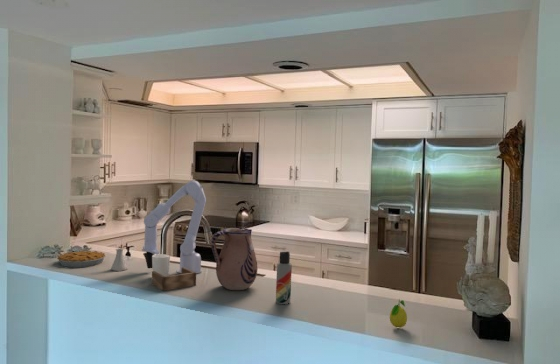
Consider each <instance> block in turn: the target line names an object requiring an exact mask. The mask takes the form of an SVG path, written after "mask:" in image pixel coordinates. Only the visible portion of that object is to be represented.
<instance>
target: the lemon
mask: <svg viewBox="0 0 560 364" xmlns="http://www.w3.org/2000/svg"><path fill="white" fill-rule="evenodd" d="M398 303H399V304H401V305H402V306H403V307H406V305H405V304H406V303H405V301H404V300H401V301H400V298H399V299H398ZM399 304H395V305H394V306H393V307H392V308H391V310H390V313H389V321H390V323H391V325H392V326H394V327H395V328H396V327H400V328H403V327H405V326H406V325H407V322H408V317H407V316H408V315H407V312H406V310H405V309H404V308H403V307H402V306H401V305H399Z"/></svg>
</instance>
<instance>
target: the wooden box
mask: <svg viewBox="0 0 560 364" xmlns="http://www.w3.org/2000/svg"><path fill="white" fill-rule="evenodd" d="M151 285H152V286H154V287H156V288H157V289H159V290H161V291H169V290H175V289H182V288H187V287H193V286H197V273H196V272H194V271H191V270H189V269H187V268H185V267H182V269H181V273H179V274H173V275H168V276H163V275H161V274H159V273H157V272H155V271H153V270H152V271H151Z"/></svg>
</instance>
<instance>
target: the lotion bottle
mask: <svg viewBox="0 0 560 364" xmlns="http://www.w3.org/2000/svg"><path fill="white" fill-rule="evenodd" d="M290 256H291V253H290V251H280V252H279V262H277V264H276V281H275V282H276V283H275V285H276V286H275V303H276V302H277V303H276V304H278V303H279V304H278V305H282V304H285V305H289V304H291V299H292V298H291V291H292V272H293V271H292V269H293V267H292V266H293V265H292V263H291V262H290V258H291V257H290ZM288 303H289V304H288Z"/></svg>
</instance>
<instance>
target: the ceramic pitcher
mask: <svg viewBox="0 0 560 364" xmlns="http://www.w3.org/2000/svg"><path fill="white" fill-rule="evenodd" d="M252 231H253V230H252V229H251V228H250V229H249V228H244V229H243V228H242V229H241V228H239V227H230V228H224V229H223V230H220V231H217V232H215V233H214V234H213V236H212V238H211V240H210V241H211V242H210V244H211V245H210V246H211V250H212V254H213V257H214V260H215V263H216V266H215V273H216V278H217V281H218V282H219V284H220V285H221V286H222V287H223V288H225V289H227V290H231V291H243V290H244V291H245V290H247V289H248V288H249V287H251V286H252V285H253V283H254V282H255V280H256V278H257V276H258V262H257V256H256V252H255V248H254V244H253V241H252ZM221 236H223V237H224V242H223V245H222V248H221V250H220V252H219V253H218V251H217V246H216V243H217V240H218V239H219V238H220V237H221Z"/></svg>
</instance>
